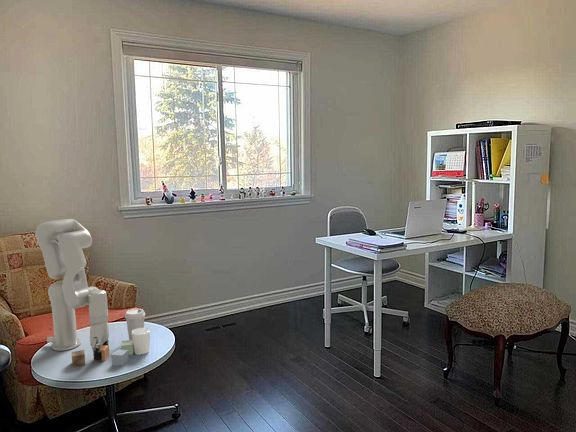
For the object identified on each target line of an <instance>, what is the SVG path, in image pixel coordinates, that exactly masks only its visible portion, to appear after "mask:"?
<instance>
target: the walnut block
mask: <svg viewBox="0 0 576 432" xmlns="http://www.w3.org/2000/svg"><path fill="white" fill-rule="evenodd" d="M71 364H72V368H76V367H77V368H78V367H82V366H86V354H85V349H79V350H74V351H72V352H71Z"/></svg>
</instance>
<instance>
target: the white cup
mask: <svg viewBox="0 0 576 432" xmlns="http://www.w3.org/2000/svg"><path fill="white" fill-rule="evenodd" d="M150 333H151V331H150V328H148V327H144V328H138V329H135V330H133V331H132V341H133V348H134V353H133V354H135V355H138V356H139V355H140V356H142V355H146V354H147V353H149V352H150V345H151V343H150V340H151V339H150V337H151V336H150V335H151V334H150ZM141 354H142V355H141Z"/></svg>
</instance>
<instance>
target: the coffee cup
mask: <svg viewBox="0 0 576 432" xmlns="http://www.w3.org/2000/svg"><path fill="white" fill-rule="evenodd" d="M145 316H146V312H145V311H144V309H142V308H132V309H129V310H126V312H125V315H124V318H125V320H126V321H125V322H126V327H127V334H128V339H129V340H132V331H133V330H135V329H138V328H145Z"/></svg>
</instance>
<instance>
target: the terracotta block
mask: <svg viewBox="0 0 576 432" xmlns="http://www.w3.org/2000/svg"><path fill="white" fill-rule="evenodd" d="M96 348H99V346H96ZM100 351H101V354H102V360H101V361H100V362H103V361H104V362H105V361H106V360H108V358H109V357H110V345H109V344H108V345H101V350H100ZM92 354H93V356H94V353H92Z"/></svg>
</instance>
